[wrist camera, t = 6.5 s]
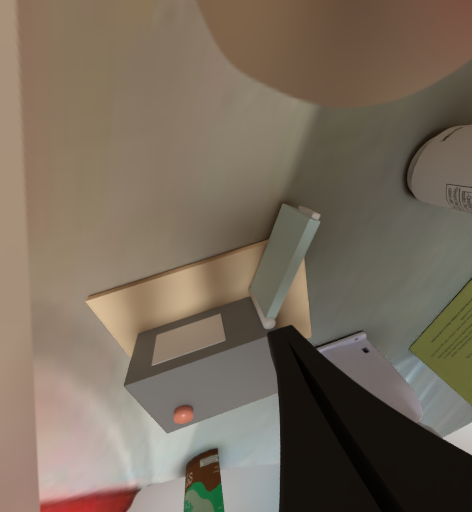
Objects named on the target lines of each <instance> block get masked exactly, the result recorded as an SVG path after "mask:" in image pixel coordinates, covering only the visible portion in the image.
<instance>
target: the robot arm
mask: <svg viewBox="0 0 472 512" xmlns="http://www.w3.org/2000/svg"><path fill="white" fill-rule="evenodd" d="M267 339H268V344H269V349H270V354H271V358H272V361H273V364H274V367H275V371H276V375H277V385H278V396H279V412H280V503H279V512H472V455H470V454H469V453H467V452H465V451H463V450H461V449H459V448H458V447H456V446H454V445H453V444H451V443H449V442H447V441H446V440H443V438H442V437H441V436H440V435H439V434H438V433H437V432H436V431H435V430H433V429H432V428H431V427H429V426H427V425H423V424H422V423H420V422H419V421H420V420H421V419H422V417H423V411H422V407H421V404H420V402H419V400H418V398H417V396H416V394H415V393H414V391H413V390H412V388H411V387H410V385H409V384H408V383H407V382H406V380H405V379H404V378H403V377H402V376H401V375H400V374H399V373H398V372H397V370H396V369H395V368H394V367H393V366H392V365H391V364H390V363H389V362H388V361H387V360H386V359H385V358H384V357H383V356H382V355H381V354H380V352H379V351H378V350H377V349H376V348H375V347H374V346H373V345H372V344H371V343H370V342H369V341H368V340H367V339H366V334H365V333H364V332H360V333H358V334H355V335H352V336H349V337H346V338H344V339H341V340H338V341H335V342H332V343H330V344H327V345H324V346H321V347H319V348H315V347H314V346H313V345H312V344H311V343H310V342H309V341H308V340H307V339H306V338H305V337H304V336H303V335H302V334H301V333H300V332H299V331H298V330H297V329H296V328H295V327H294V326H293V325H289V326H285V327H282V328H279V329H276V330H273V331H270V332H268V333H267Z"/></svg>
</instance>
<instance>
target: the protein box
mask: <svg viewBox="0 0 472 512" xmlns="http://www.w3.org/2000/svg"><path fill="white" fill-rule="evenodd" d="M410 351H411V352H413V353H414V354H415V355H416V356H417V357H418V358H419V359H420V360H421V361H422V362H424V363H425V364H426V365H427V366H428V367H429V368H430V369H431V370H432V371H433V372H435V373H436V374H437V375H438V376H439V377H440V378H441V379H442V380H444V381H445V382H446V383H447V384H448V385H449V386H450V387H451V388H452V389H453V390H455V391H456V392H457V393H458V394H459V395H460V396H461V397H462V398H464V399H465V400H466V401H467V402H468V403H469V404H470V405H471V406H472V279H471V281H470V282H469V283H468V284H467V285H466V286H465V287H464V288H463V289H462V291H461V292H460V293H459V294H458V295H457V296H456V297H455V298H454V299H453V300H452V302H451V303H450V304H449V305H448V306H447V307H446V308H445V309H444V310H443V312H442V313H441V314H440V315H439V316H438V317H437V318H436V319H435V320H434V321H433V322H432V324H431V325H430V326H429V327H428V328H427V329H426V330H425V331H424V333H423V334H422V335H421V336H420V337H419V338H418V339H417V340H416V342H415V343H414V344H413V345H412V346H411V347H410Z"/></svg>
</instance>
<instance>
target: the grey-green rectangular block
mask: <svg viewBox="0 0 472 512" xmlns="http://www.w3.org/2000/svg"><path fill="white" fill-rule="evenodd" d="M319 217H320V214H318V213H316V212H314V211H312V210H310V209H308V208H306V207H303V206H299V207H298V209H296V208H294V207H292V206H290V205H286V204H282V207H281V209H280V212H279V214H278V217H277V220H276V222H275V225H274V228H273V230H272V233H271V235H270V238H269V241H268V243H267V246H266V249H265V251H264V254H263V256H262V259H261V262H260V264H259V267H258V270H257V272H256V275H255V277H254V280H253V283H252V285H251V287H250V288H249V294H250V296H251V298H252V301H253V303H254V306H255V308H256V310H257V313H258V315H259V317H260V320H261V322H262V324H263V327H264V328H265V329H271V328H273V327H274V326H275V325H276V321H275V318H276V316H277V314H278V312H279V310H280V307H281V305H282V303H283V301H284V299H285V297H286V295H287V292H288V290H289V288H290V286H291V284H292V282H293V280H294V278H295V275H296V273H297V271H298V269H299V267H300V265H301V263H302V260H303V258H304V256H305V254H306V252H307V250H308V248H309V245H310V243H311V241H312V239H313V237H314V235H315V233H316V230H317V228H318V226H319V224H320V221H318V219H319Z"/></svg>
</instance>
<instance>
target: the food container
mask: <svg viewBox="0 0 472 512" xmlns="http://www.w3.org/2000/svg"><path fill="white" fill-rule="evenodd" d="M184 512H224V504H223V494H222V485H221V476H220V466H219V457H218V448H217V449H213V450H209V451H207V452H204V453H202V454H200V455H198V456H196V457H195V458H193V459H192V460H191V461H190V462H189V463H188V465H187V467H186V481H185V498H184Z"/></svg>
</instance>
